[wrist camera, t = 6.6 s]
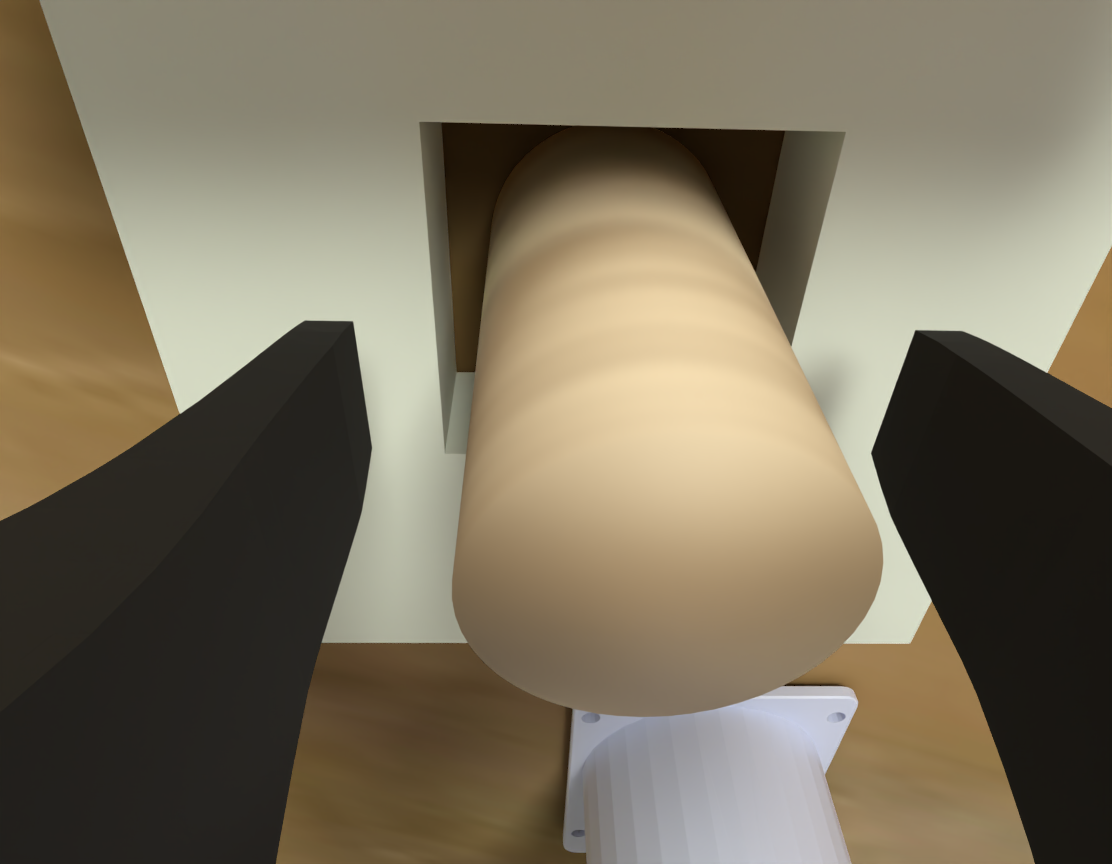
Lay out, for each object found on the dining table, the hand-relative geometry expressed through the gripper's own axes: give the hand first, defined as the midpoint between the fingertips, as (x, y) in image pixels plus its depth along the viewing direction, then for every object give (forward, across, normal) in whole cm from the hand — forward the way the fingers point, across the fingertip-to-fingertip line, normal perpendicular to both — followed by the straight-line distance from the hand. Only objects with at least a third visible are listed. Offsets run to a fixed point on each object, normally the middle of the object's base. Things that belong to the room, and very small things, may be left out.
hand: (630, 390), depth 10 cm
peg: (+4, 0, 0) cm, 4 cm away
